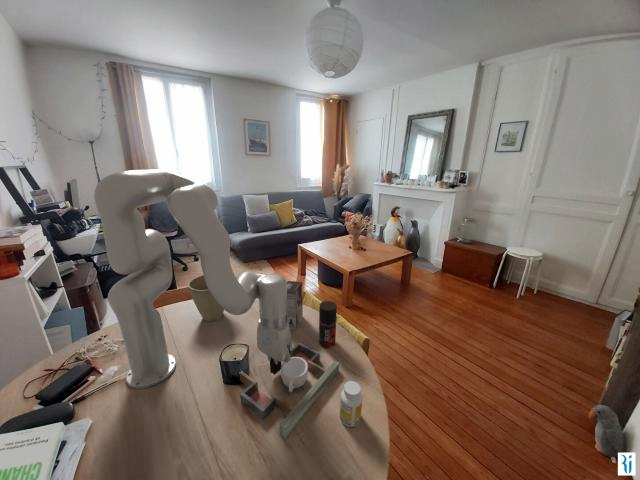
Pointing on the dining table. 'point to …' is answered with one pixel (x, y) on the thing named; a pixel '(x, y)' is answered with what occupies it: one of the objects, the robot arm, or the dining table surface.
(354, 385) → the supplement bottle
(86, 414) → the dining table surface
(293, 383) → the teacup
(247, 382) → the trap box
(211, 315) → the plant pot
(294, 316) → the coffee box
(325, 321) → the deodorant
